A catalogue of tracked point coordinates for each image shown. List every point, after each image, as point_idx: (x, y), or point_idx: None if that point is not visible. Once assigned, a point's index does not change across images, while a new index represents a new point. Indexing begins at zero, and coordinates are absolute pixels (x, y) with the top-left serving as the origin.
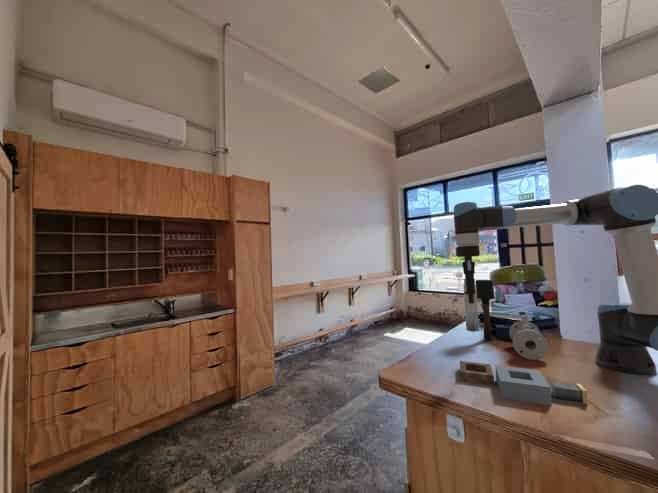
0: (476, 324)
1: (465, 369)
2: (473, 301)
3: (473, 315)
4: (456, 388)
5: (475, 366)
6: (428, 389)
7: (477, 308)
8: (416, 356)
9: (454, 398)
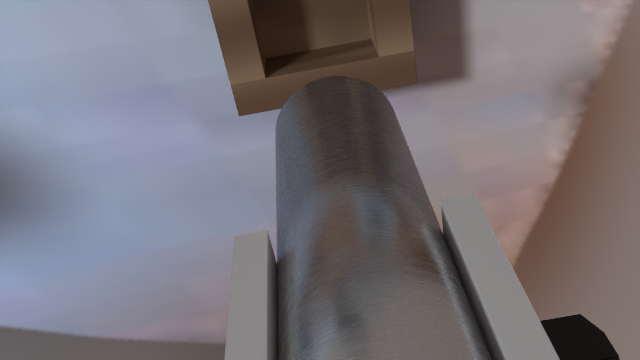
0: (389, 123)
1: (368, 61)
2: (611, 344)
3: (429, 204)
4: (472, 65)
5: (252, 17)
6: (531, 169)
7: (376, 220)
8: (159, 320)
9: (584, 52)
